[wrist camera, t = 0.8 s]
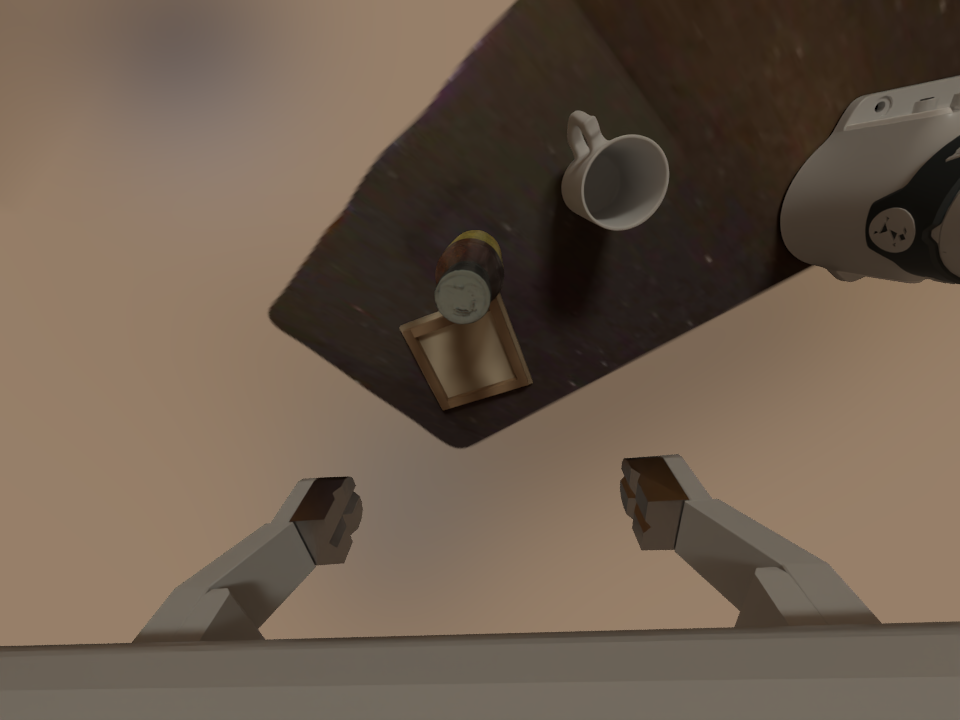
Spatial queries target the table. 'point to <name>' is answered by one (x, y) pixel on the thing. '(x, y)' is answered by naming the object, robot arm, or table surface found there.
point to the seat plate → (468, 355)
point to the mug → (613, 175)
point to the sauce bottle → (468, 277)
